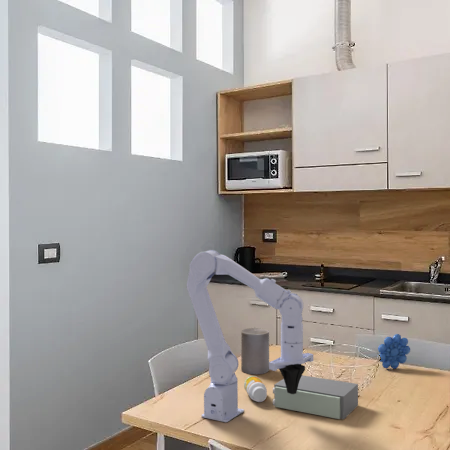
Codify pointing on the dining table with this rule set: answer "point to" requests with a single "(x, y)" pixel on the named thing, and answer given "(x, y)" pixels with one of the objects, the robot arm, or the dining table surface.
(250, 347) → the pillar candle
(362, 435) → the dining table surface
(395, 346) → the blue flower shape
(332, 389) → the cabinet
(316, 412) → the door
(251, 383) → the supplement bottle
